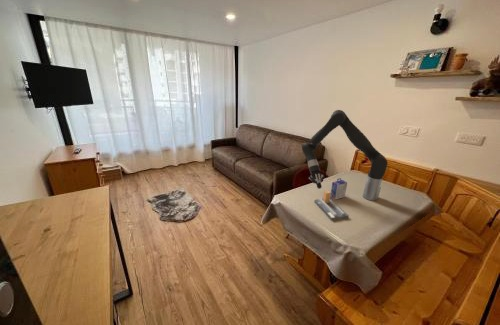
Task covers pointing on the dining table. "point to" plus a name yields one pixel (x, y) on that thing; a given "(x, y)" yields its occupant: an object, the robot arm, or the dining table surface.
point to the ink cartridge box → (338, 189)
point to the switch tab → (326, 196)
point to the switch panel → (331, 209)
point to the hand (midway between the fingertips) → (319, 188)
